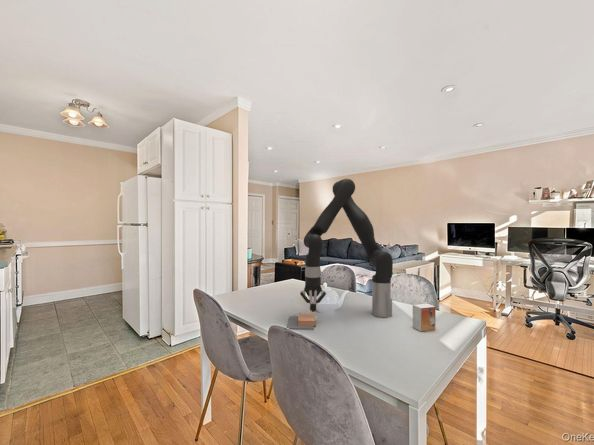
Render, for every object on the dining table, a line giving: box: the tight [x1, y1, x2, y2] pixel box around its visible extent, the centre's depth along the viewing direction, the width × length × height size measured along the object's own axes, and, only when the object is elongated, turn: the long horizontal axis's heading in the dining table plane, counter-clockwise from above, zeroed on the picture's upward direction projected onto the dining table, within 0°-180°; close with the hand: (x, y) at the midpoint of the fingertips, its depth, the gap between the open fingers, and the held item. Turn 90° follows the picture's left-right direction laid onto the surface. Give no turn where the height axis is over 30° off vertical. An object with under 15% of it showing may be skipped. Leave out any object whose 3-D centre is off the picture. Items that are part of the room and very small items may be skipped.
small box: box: [412, 303, 436, 333], centre depth 120 cm, size 8×6×10 cm
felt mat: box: [286, 315, 315, 330], centre depth 128 cm, size 12×16×1 cm
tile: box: [297, 312, 316, 327], centre depth 128 cm, size 2×10×8 cm
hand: (313, 311), depth 128 cm, fingers closed
